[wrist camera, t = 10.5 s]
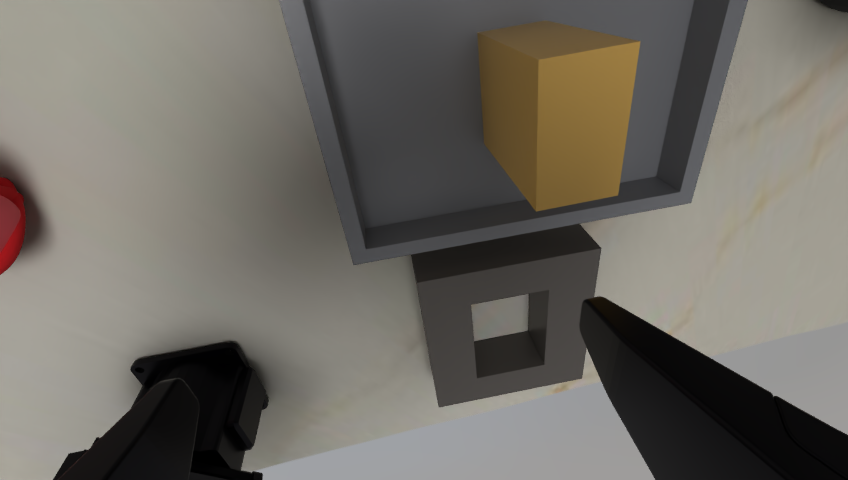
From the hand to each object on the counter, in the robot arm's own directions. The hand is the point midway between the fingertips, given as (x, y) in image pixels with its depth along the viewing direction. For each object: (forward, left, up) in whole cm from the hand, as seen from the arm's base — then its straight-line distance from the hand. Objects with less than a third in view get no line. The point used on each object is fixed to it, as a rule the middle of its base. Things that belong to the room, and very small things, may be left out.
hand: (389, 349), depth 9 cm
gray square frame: (+6, -12, -13) cm, 19 cm away
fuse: (+7, +2, -12) cm, 14 cm away
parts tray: (+7, +2, -13) cm, 15 cm away
